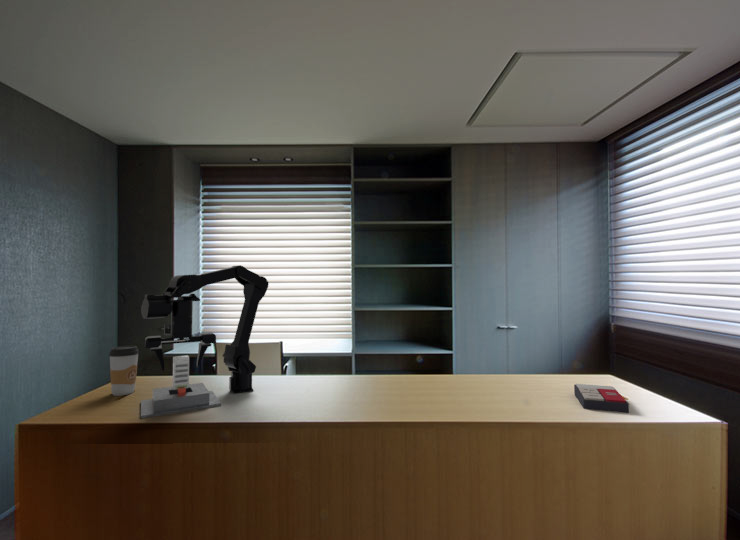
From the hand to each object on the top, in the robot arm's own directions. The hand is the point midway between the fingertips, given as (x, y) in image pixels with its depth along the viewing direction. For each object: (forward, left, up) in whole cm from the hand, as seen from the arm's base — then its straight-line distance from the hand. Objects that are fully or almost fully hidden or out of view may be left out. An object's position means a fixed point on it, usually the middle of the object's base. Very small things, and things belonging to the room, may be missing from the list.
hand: (180, 369), depth 111 cm
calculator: (-106, +66, -11) cm, 125 cm away
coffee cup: (+15, -24, -11) cm, 30 cm away
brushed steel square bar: (0, 0, -5) cm, 5 cm away
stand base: (0, 0, -10) cm, 10 cm away
